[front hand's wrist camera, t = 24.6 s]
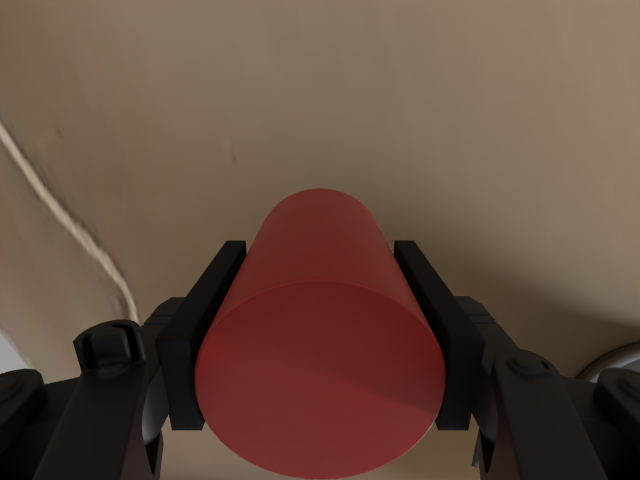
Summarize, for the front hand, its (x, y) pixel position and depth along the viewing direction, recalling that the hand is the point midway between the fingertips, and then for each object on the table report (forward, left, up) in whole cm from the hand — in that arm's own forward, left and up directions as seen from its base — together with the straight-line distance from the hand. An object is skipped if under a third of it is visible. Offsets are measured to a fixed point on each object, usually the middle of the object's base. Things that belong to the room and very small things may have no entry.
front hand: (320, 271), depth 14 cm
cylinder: (0, 0, -3) cm, 3 cm away
